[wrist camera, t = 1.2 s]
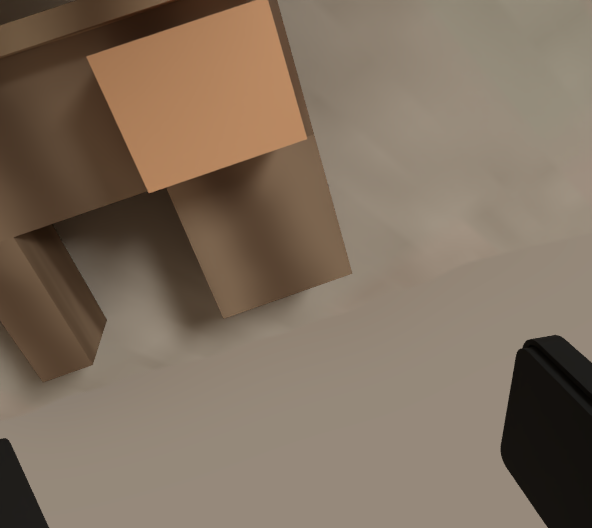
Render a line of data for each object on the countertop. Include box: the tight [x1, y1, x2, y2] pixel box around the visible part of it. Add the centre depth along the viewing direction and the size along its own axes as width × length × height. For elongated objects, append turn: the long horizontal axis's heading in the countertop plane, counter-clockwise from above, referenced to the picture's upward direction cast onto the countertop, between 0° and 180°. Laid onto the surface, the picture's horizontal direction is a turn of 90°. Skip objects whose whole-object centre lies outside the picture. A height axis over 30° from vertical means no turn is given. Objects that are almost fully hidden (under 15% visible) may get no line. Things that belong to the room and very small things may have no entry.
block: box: [86, 0, 307, 193], centre depth 21 cm, size 7×6×4 cm
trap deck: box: [0, 0, 352, 382], centre depth 26 cm, size 28×17×8 cm, turn 107°
